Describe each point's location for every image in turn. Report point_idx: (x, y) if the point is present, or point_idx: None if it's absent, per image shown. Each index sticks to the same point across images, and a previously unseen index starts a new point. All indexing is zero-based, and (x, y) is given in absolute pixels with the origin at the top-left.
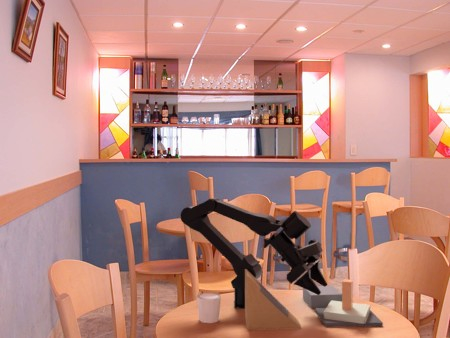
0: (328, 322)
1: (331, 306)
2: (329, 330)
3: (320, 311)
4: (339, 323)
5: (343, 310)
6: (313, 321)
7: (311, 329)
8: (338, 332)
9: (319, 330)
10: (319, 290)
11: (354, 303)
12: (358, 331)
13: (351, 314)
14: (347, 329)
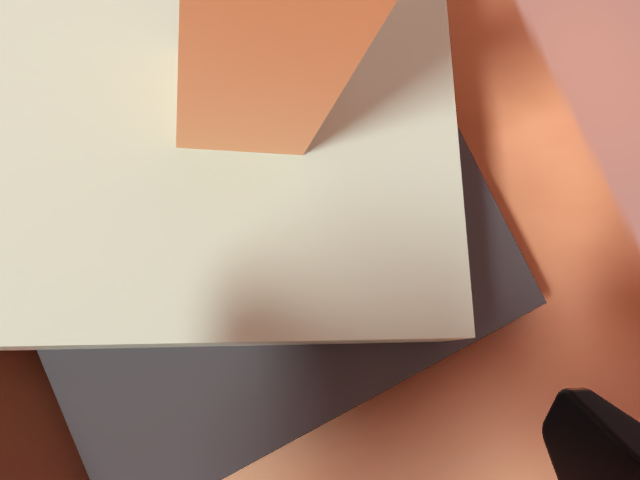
0: (519, 274)
1: (252, 288)
2: (582, 254)
3: (227, 433)
4: (480, 182)
5: (343, 136)
6: (446, 441)
7: (631, 399)
8: (587, 182)
9: (619, 330)
10: (622, 413)
11: (7, 31)
12: (499, 44)
13: (435, 51)
14: (498, 124)
